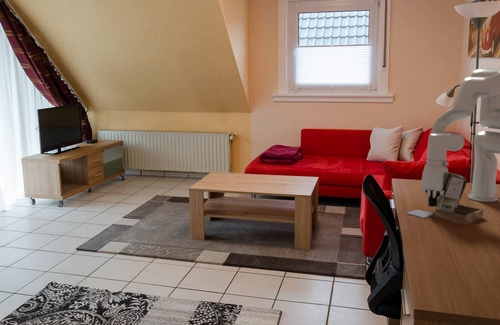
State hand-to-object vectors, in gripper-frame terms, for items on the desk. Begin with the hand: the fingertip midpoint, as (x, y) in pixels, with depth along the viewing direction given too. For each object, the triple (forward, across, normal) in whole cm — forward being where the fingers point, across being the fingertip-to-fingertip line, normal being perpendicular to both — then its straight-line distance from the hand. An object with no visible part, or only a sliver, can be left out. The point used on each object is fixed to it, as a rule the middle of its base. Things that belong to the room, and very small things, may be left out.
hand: (432, 205), depth 205 cm
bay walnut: (+2, -11, -1) cm, 11 cm away
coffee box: (+2, -5, -1) cm, 5 cm away
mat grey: (+3, +1, +7) cm, 8 cm away
